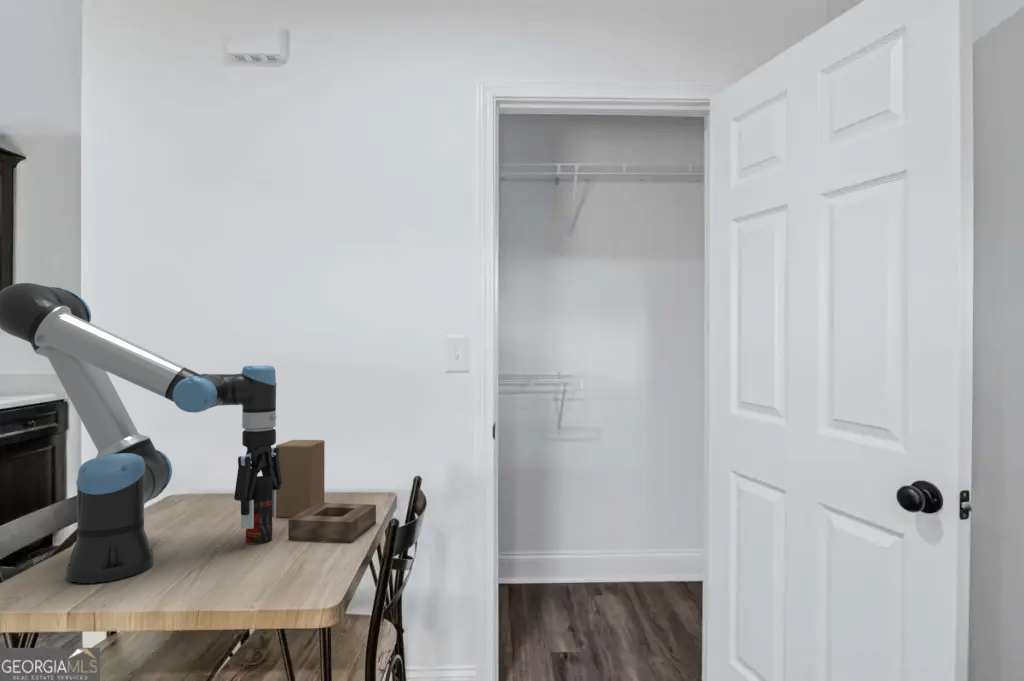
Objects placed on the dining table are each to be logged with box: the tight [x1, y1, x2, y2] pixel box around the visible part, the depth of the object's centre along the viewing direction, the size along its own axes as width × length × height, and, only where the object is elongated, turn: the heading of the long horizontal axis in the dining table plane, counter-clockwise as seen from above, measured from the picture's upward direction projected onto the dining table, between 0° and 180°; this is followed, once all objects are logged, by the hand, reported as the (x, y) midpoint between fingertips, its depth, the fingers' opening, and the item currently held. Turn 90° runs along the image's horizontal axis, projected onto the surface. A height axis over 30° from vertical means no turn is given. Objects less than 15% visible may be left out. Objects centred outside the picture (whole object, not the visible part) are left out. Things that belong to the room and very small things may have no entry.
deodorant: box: [245, 475, 273, 546], centre depth 143 cm, size 6×6×15 cm
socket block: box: [287, 502, 377, 544], centre depth 149 cm, size 16×16×5 cm
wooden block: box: [275, 439, 325, 519], centre depth 167 cm, size 10×10×20 cm
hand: (259, 522), depth 143 cm, fingers open, 9 cm apart
